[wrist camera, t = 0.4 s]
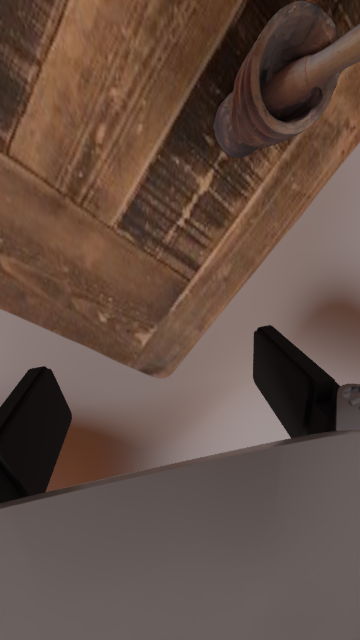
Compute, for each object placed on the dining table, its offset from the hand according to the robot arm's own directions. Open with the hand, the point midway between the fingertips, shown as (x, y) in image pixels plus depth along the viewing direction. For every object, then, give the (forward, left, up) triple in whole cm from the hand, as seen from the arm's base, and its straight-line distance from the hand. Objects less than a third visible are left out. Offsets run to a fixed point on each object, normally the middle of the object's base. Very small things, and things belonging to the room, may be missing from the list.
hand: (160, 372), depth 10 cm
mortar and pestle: (-24, -1, -30) cm, 39 cm away
